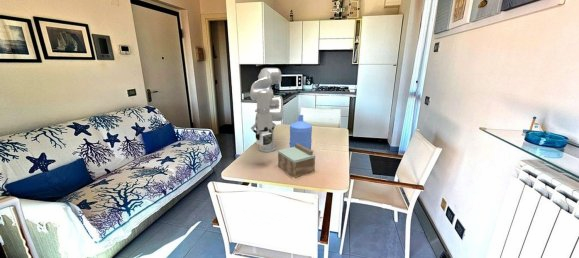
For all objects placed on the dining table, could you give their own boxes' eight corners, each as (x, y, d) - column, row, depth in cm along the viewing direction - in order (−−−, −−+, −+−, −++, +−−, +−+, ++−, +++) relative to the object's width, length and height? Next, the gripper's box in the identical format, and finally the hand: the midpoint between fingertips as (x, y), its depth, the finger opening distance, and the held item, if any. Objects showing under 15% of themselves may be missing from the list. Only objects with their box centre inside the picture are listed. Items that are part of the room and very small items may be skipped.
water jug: (309, 157, 164) (311, 118, 156) (287, 156, 167) (287, 117, 159) (312, 149, 179) (313, 113, 171) (291, 148, 182) (292, 112, 174)
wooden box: (278, 166, 151) (278, 153, 149) (297, 161, 159) (297, 148, 156) (294, 177, 137) (294, 163, 134) (314, 171, 144) (315, 157, 142)
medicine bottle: (263, 146, 144) (262, 127, 141) (256, 143, 149) (255, 125, 146) (272, 143, 149) (271, 125, 146) (265, 141, 154) (264, 123, 151)
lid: (277, 152, 149) (277, 146, 147) (297, 148, 156) (297, 142, 155) (294, 163, 134) (294, 156, 133) (315, 157, 142) (315, 151, 141)
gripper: (252, 113, 136) (253, 142, 141) (278, 110, 145) (279, 137, 150) (247, 111, 142) (248, 139, 147) (272, 108, 151) (273, 134, 156)
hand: (264, 138), depth 148 cm, fingers closed on medicine bottle, 8 cm apart
